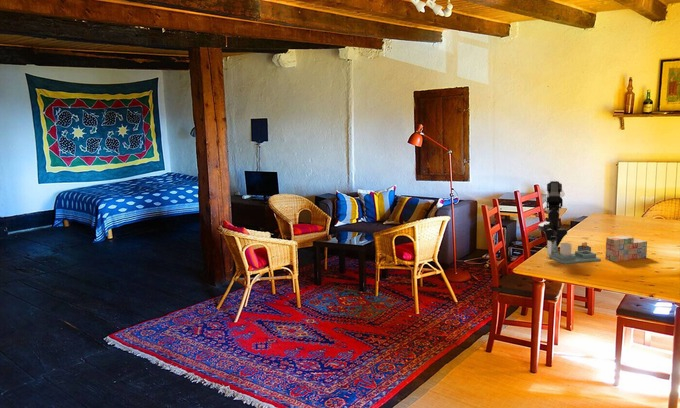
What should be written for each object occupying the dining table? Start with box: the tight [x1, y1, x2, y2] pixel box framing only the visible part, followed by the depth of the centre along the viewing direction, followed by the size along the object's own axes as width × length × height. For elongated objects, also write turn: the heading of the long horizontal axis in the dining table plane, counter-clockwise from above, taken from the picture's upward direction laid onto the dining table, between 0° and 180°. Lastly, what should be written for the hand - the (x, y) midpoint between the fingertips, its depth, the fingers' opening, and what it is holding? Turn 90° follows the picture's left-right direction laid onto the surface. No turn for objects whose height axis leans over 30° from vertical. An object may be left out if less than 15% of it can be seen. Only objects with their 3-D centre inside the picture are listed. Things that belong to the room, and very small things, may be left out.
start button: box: [581, 241, 588, 248], centre depth 309 cm, size 3×3×3 cm
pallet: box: [548, 242, 602, 265], centre depth 295 cm, size 14×22×9 cm, turn 100°
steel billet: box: [546, 240, 559, 255], centre depth 305 cm, size 4×4×8 cm
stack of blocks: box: [605, 234, 648, 262], centre depth 292 cm, size 21×6×12 cm, turn 105°
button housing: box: [577, 244, 592, 252], centre depth 309 cm, size 5×5×3 cm
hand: (552, 243), depth 305 cm, fingers open, 9 cm apart
